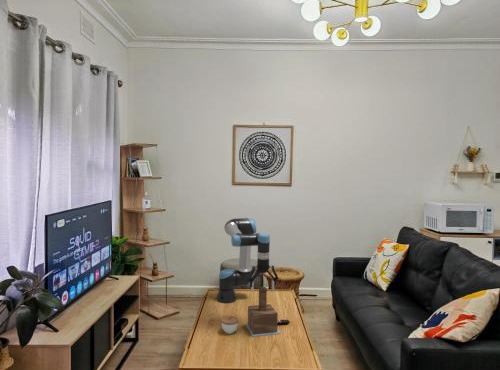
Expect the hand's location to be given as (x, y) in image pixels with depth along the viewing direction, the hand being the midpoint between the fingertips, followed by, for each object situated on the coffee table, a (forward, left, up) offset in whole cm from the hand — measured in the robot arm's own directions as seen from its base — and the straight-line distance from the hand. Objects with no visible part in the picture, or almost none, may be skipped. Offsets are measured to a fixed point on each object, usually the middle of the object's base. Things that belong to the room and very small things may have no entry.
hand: (262, 291), depth 228 cm
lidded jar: (-1, -21, -25) cm, 32 cm away
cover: (0, 0, -24) cm, 24 cm away
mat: (0, 0, -25) cm, 25 cm away
